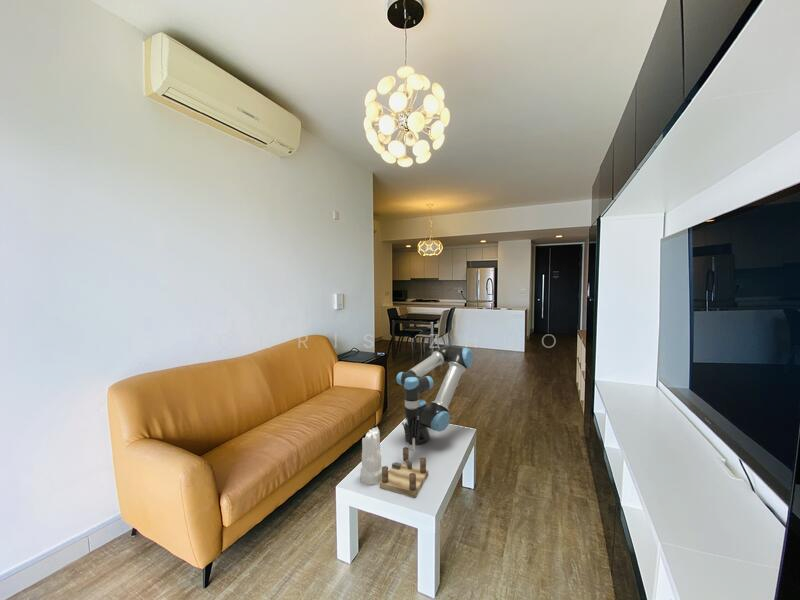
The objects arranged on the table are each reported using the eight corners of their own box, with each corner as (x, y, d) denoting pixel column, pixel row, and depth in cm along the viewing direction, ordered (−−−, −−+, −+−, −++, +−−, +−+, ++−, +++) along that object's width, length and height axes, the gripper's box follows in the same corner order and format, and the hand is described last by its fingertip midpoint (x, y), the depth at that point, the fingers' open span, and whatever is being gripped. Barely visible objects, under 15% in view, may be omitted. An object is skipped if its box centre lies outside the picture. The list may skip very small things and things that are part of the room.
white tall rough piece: (362, 486, 149) (361, 435, 148) (359, 473, 159) (358, 425, 158) (384, 482, 152) (383, 432, 151) (380, 469, 162) (379, 422, 161)
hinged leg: (402, 458, 167) (402, 447, 166) (407, 457, 168) (407, 446, 167) (407, 469, 158) (407, 457, 157) (413, 467, 159) (413, 456, 158)
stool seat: (395, 466, 165) (395, 450, 164) (428, 474, 157) (428, 457, 157) (379, 487, 148) (379, 469, 148) (415, 497, 141) (415, 478, 140)
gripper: (414, 401, 176) (414, 442, 177) (398, 408, 167) (398, 451, 168) (424, 405, 171) (425, 447, 172) (408, 412, 161) (409, 457, 163)
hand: (412, 449), depth 170 cm, fingers closed
